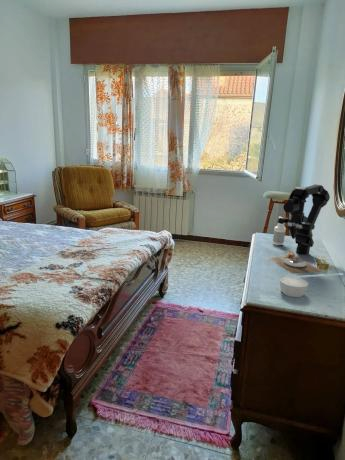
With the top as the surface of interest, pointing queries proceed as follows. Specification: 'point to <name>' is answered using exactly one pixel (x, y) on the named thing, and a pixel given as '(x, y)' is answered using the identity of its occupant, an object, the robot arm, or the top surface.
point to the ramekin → (293, 286)
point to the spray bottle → (279, 234)
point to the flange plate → (298, 265)
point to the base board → (292, 270)
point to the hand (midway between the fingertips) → (293, 238)
